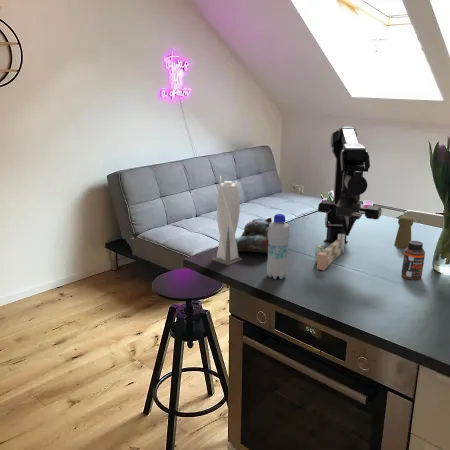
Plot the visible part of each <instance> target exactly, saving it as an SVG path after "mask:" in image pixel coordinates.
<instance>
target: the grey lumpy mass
mask: <svg viewBox="0 0 450 450" xmlns="http://www.w3.org/2000/svg"><path fill="white" fill-rule="evenodd" d="M270 223H273V220H272V217H268V218H267V219H265V218H258V217H257V218H254V219H253V218H252V220H250V221H249V222H247V223H246V224H245V225H244V226H243V227H244V228H243V230H244V231H243V232H242V234H241V235H240V237H239V238H238V239H236V244H237V250H238V252H252V253H253V252H254V253H264V254H267V255H268V242H269V241H268V235H267V234H268V229H269V224H270Z"/></svg>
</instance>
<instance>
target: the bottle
mask: <svg viewBox="0 0 450 450" xmlns="http://www.w3.org/2000/svg"><path fill="white" fill-rule="evenodd" d="M267 235H268V241H269V242H268V254H267V263H266V272H267V276H268V277H269V278H270V279H272V278H273V279H274V280H277V277H278V278H279V280H283V278H286V276H287V274H288V251H289V241H290V237H291V234H290V225H289V224H288V223H286V216H285V214H282V213H276V214H275V215H274V216H273V221H272V223H270V224H269V229H268V234H267Z"/></svg>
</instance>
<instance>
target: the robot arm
mask: <svg viewBox="0 0 450 450" xmlns="http://www.w3.org/2000/svg"><path fill="white" fill-rule="evenodd" d="M330 148H331V153H332V155H333V156H334V158H335V165H334V166H335V169H334V181H333V182H334V183H333V184H334V185H333V199H332V200H329V199H324V200H322V201H320V203H318V206H317V212H319V213H325V217H324V227H325V228H326V238H325V239H323V242H324V243H326V244H329V245H331V244H332V243H333V242H335V241H336V240H337V239H338V233H344V234H345V242H344V245H345V244H347V243H348V240H347V236H348V237H349V236H350V234H351V231H352V229H353V228H354V225H355V223H356V221H357V220H360V219H361V217H362V216H363V215H364V217H365V218H366V219H368V220H369V219H370V220H379V218H380V217H381V216H382V213H383V212H382V211H383V210H382V208H381V206H376V205H368V206H367V207H361V195H362V194H364V193H365V192H366V190H367V189H368V181H367V179H366V178H365V177H364V173H365V172H366V173H369V169H370V168H371V162H370V154H369V151H368V150H367V149H366V147H365V146H364V144H361V143H359V141H358V132H356V127H353V126H340V127H339V129H338V130H336V131H334V132H332V133H331V136H330Z"/></svg>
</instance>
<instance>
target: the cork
mask: <svg viewBox="0 0 450 450" xmlns="http://www.w3.org/2000/svg"><path fill="white" fill-rule="evenodd" d="M397 223H398V229H397V232H396V237H395V240H394V244H393V245H394V247H396V248H399V249H403V250H405V249H406V248H407V247H408V246H409V242H410V241H412V226H414V218H413V217H411V216H407V215H402V216H400V217H399V218H398V220H397Z"/></svg>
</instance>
